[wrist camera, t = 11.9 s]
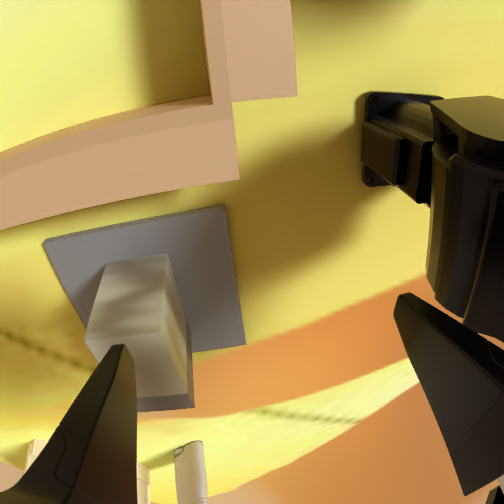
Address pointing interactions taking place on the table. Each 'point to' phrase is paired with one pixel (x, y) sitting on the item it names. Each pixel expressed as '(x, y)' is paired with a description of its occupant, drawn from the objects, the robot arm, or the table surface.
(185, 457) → the tall pale column
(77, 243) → the slate mat
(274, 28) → the light brown square frame
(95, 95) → the table surface
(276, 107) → the table surface
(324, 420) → the table surface
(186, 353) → the box
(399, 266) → the table surface
